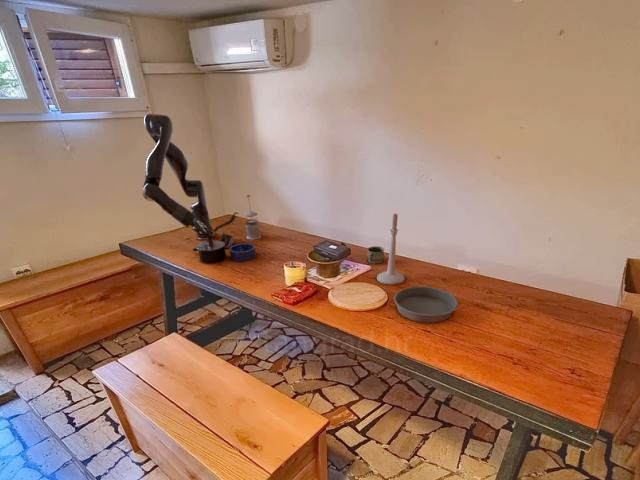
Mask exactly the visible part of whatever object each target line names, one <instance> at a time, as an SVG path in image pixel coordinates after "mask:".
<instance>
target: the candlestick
mask: <svg viewBox="0 0 640 480" xmlns="http://www.w3.org/2000/svg"><path fill="white" fill-rule="evenodd" d="M398 214H399V213H393V214H392V219H391V220H392V222H391V223H392V224H391V229H389V231H390V235H391V237H390V246H389V255H388V262H387V268H386V269H387V270H386V271H382V272H380V273H379V274H377V276H376V280H377V281H378V282H379V283H381V284H384V285H399V284H402V283H404V282H405V276H404V275H403V274H402V273H401V272H398V271H396V245H397V244H396V241H397V240H396V239H397V238H396V237H397V234H398V231H399V229H397V227H398Z"/></svg>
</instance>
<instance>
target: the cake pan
mask: <svg viewBox="0 0 640 480" xmlns="http://www.w3.org/2000/svg"><path fill="white" fill-rule="evenodd" d="M393 301H394V304H395V305H396V308H397V311H398V313H399V314H400V315H401V316H403V317H404V318H406V319H408V320H411V321H413V322H418V323H426V324H433V323H439V322H443V321H445V320H447V319H449V318H450V316H451V315H452V314H453V312H454V311H455V310H456V309H457V308H458V306H459V302H458V299H457V297H456V296H454V295H453V294H452V293H450V292H448V291H447V290H443V289H440V288H438V287H432V286H423V285H421V286H409V287H406V288H402V289H400V290H399V291H397V292H396V293H395V294H394V296H393Z"/></svg>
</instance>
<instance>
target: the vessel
mask: <svg viewBox="0 0 640 480" xmlns="http://www.w3.org/2000/svg"><path fill="white" fill-rule="evenodd" d="M384 251H385V248H384V247H382V246H376V245H375V246H369V247H367V254H366V255H367V257H366V258H367V259H368V260H367V261H368V262H369V263H370V264H382V263H383V261H384V258H385V254H384Z"/></svg>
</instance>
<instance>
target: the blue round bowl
mask: <svg viewBox="0 0 640 480" xmlns="http://www.w3.org/2000/svg"><path fill="white" fill-rule="evenodd" d="M228 250H229V251H228V252H229V255H230V256H229V257H230V259H231V260H232V261H234V262H248V261H251V260H254V259H255V258H256V257H257V250H256V245H254V244H252V243H237V244H234V245H232V246H230V249H228Z"/></svg>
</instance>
